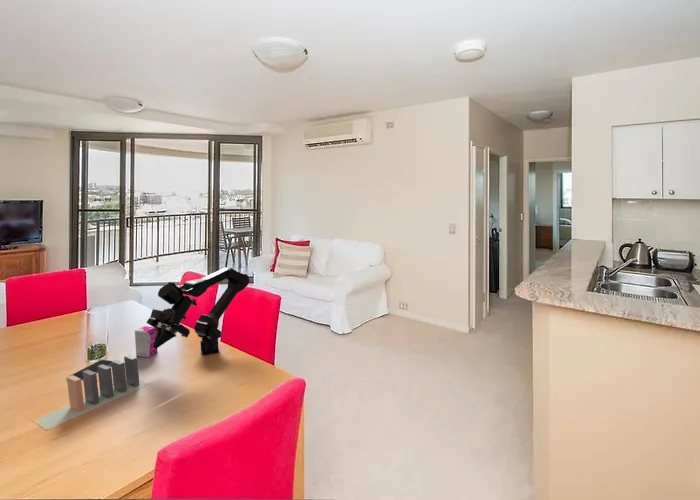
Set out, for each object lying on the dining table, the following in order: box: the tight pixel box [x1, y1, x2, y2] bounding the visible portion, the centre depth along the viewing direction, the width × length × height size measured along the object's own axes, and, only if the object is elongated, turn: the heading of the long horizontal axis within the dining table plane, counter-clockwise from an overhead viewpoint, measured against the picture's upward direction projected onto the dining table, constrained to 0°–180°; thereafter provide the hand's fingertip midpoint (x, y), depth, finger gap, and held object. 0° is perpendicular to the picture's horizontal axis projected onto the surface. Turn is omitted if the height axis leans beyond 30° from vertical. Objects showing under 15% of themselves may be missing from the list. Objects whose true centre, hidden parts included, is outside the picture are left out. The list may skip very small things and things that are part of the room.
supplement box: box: [134, 325, 158, 359], centre depth 153 cm, size 6×6×12 cm
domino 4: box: [110, 359, 127, 393], centre depth 125 cm, size 2×5×10 cm, turn 60°
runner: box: [36, 379, 150, 431], centre depth 119 cm, size 30×9×1 cm, turn 150°
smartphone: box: [67, 359, 112, 381], centre depth 140 cm, size 7×1×15 cm
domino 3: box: [97, 364, 114, 399], centre depth 121 cm, size 2×5×10 cm, turn 60°
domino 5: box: [123, 354, 140, 387], centre depth 129 cm, size 2×5×10 cm, turn 60°
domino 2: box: [82, 370, 99, 405], centre depth 118 cm, size 2×5×10 cm, turn 60°
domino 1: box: [66, 374, 84, 412], centre depth 114 cm, size 2×5×10 cm, turn 60°
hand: (154, 348), depth 135 cm, fingers closed
